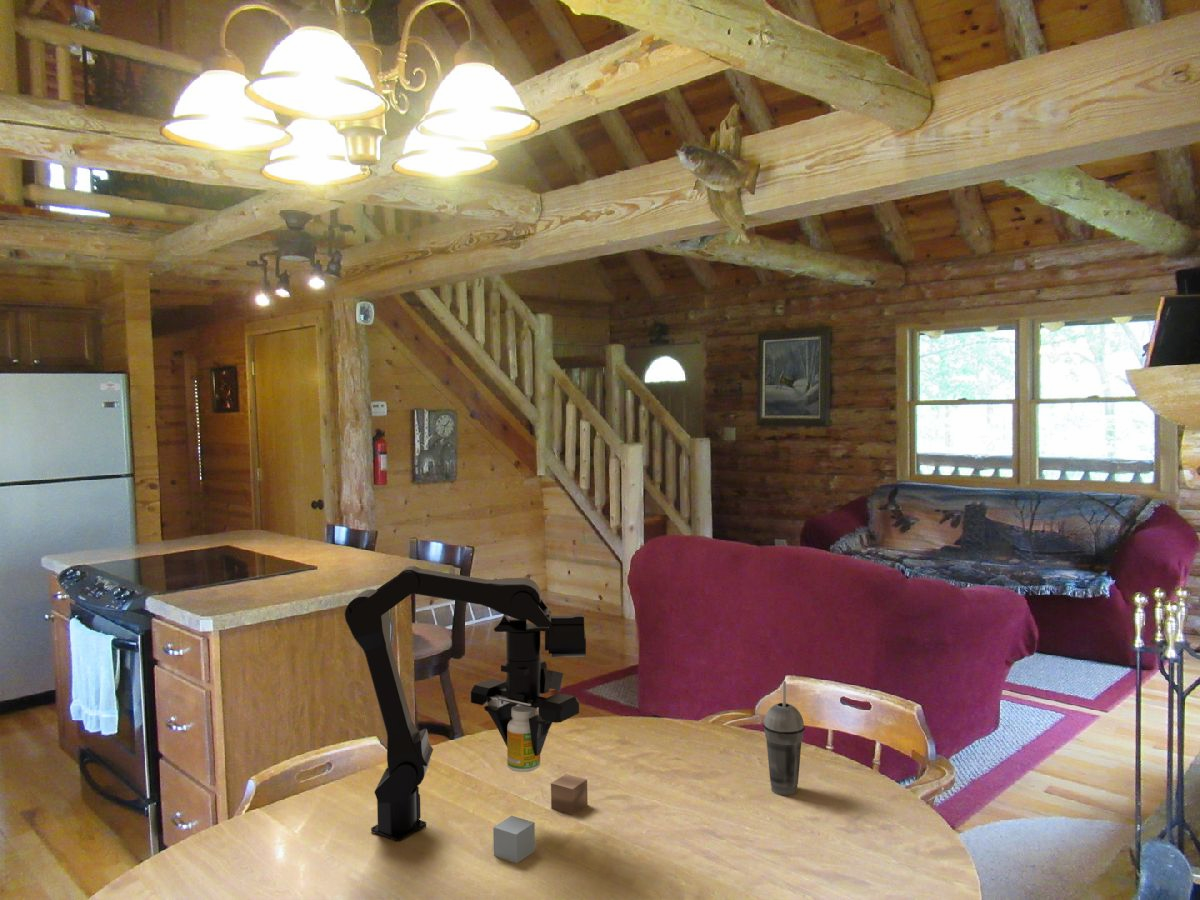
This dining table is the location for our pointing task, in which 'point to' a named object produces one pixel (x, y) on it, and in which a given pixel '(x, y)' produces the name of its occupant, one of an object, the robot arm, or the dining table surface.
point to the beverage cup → (784, 746)
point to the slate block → (514, 839)
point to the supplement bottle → (521, 740)
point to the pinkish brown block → (569, 794)
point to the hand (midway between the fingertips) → (523, 751)
